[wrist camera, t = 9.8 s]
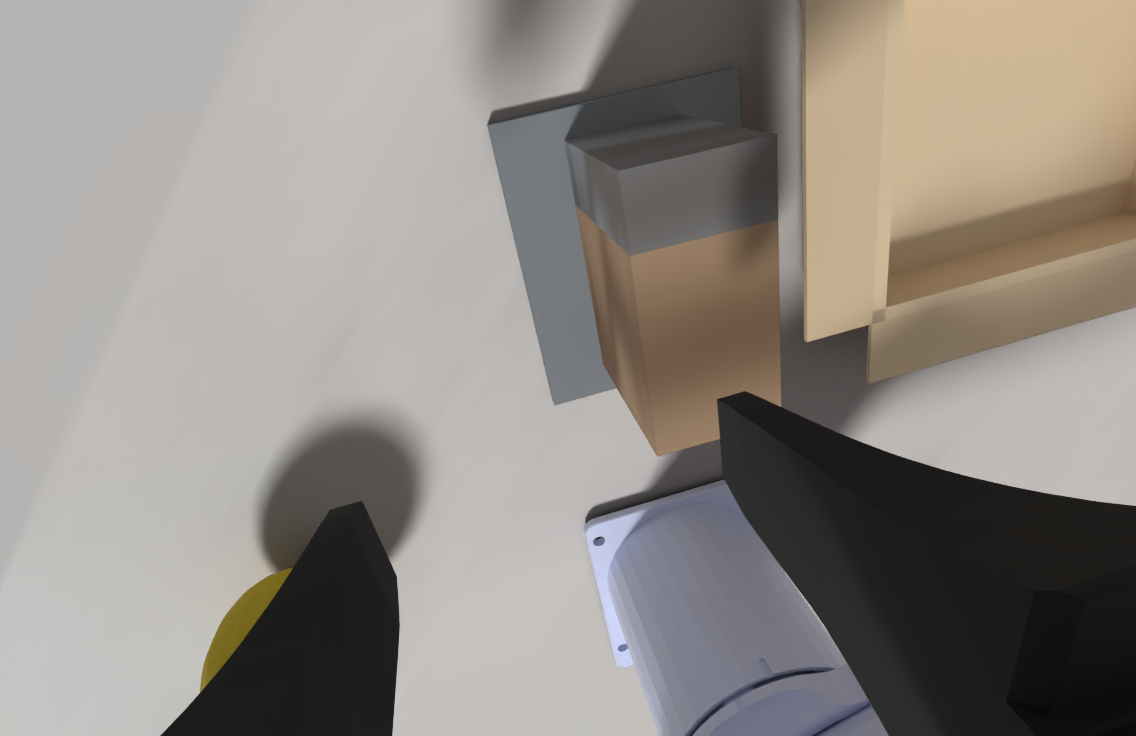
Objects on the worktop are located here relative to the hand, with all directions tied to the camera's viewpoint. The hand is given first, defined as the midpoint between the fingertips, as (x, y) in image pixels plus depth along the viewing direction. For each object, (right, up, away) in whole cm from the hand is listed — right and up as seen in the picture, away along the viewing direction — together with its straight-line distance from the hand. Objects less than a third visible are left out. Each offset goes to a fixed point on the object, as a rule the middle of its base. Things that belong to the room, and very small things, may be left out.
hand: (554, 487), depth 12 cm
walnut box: (+3, +6, +9) cm, 11 cm away
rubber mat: (+3, +6, +9) cm, 12 cm away
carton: (+16, +11, +10) cm, 22 cm away
